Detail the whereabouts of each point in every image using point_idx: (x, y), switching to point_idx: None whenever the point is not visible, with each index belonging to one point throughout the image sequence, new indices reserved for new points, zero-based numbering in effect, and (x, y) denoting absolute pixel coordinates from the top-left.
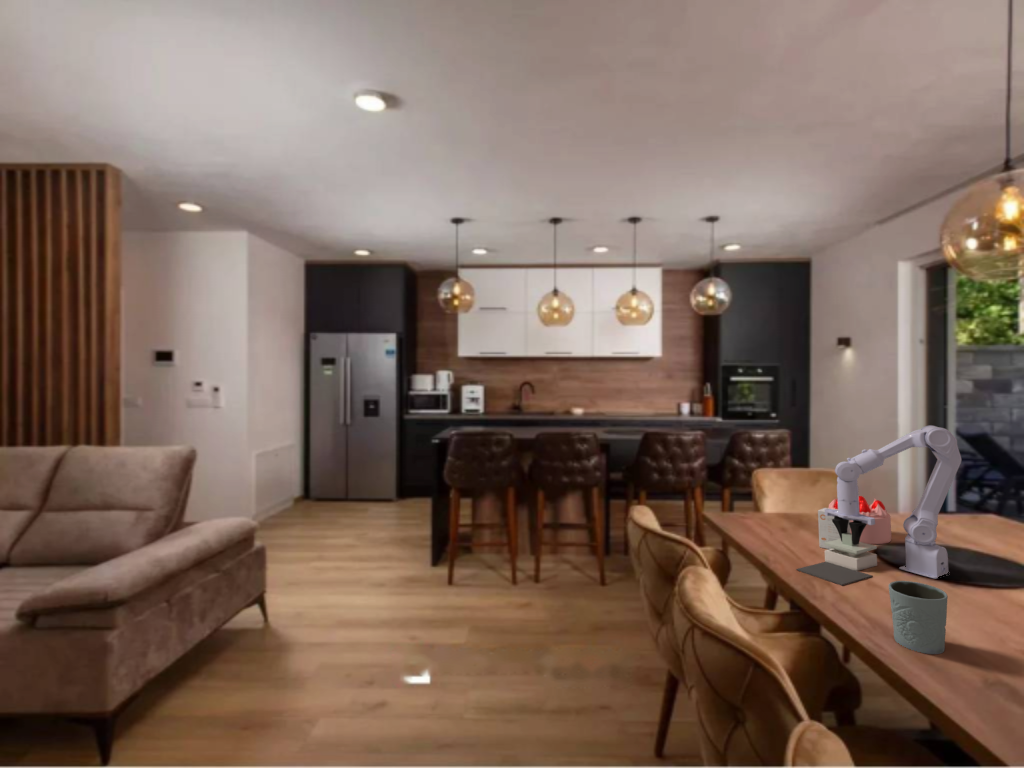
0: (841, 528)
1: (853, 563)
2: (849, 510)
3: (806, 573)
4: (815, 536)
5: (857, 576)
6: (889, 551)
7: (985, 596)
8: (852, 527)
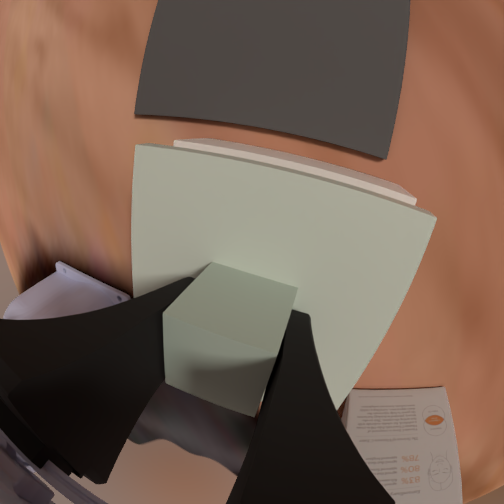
0: (265, 414)
1: (209, 141)
2: None
3: None
4: None
5: (167, 43)
6: (240, 442)
7: (5, 213)
8: (44, 343)
